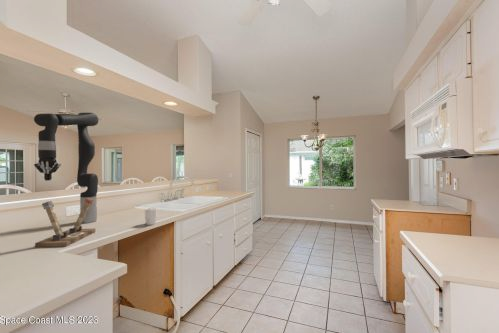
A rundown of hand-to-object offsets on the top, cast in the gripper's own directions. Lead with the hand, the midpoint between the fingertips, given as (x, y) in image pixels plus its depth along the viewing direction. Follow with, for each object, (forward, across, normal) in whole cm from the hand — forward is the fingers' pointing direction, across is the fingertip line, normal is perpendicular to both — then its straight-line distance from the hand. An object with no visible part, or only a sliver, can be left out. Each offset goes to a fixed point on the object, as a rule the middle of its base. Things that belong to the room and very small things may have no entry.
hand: (47, 180), depth 128 cm
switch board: (+30, -16, +9) cm, 36 cm away
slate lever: (+27, -17, +15) cm, 35 cm away
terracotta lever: (+28, -16, +3) cm, 32 cm away
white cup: (+31, -49, -20) cm, 62 cm away
